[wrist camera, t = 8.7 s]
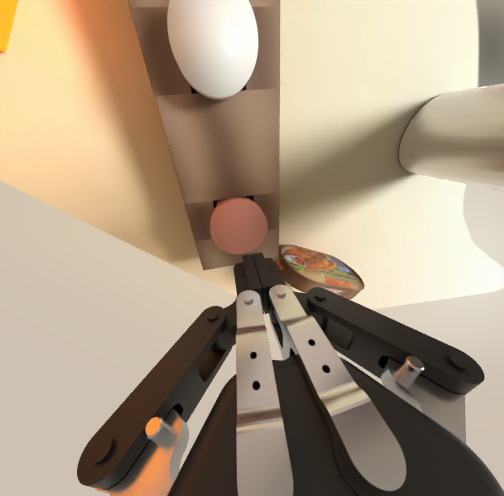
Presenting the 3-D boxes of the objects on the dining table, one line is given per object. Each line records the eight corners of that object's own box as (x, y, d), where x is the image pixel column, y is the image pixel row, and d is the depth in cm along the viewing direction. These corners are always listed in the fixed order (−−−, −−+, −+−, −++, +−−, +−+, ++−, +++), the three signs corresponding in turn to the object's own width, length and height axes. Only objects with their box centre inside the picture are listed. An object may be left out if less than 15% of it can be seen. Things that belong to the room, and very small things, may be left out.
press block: (261, -41, 15) (280, -110, 11) (268, 239, 29) (278, 257, 25) (129, -44, 14) (93, -123, 9) (204, 249, 28) (203, 270, 23)
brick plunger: (253, 182, 22) (266, 197, 17) (256, 224, 25) (268, 249, 20) (206, 187, 21) (204, 206, 16) (214, 230, 24) (215, 258, 19)
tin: (344, 259, 34) (378, 291, 27) (334, 272, 36) (365, 305, 29) (274, 239, 29) (294, 272, 22) (266, 255, 30) (283, 291, 23)
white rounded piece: (240, 24, 16) (255, -34, 10) (246, 105, 19) (260, 94, 13) (173, 25, 15) (152, -36, 10) (190, 109, 18) (182, 99, 13)
